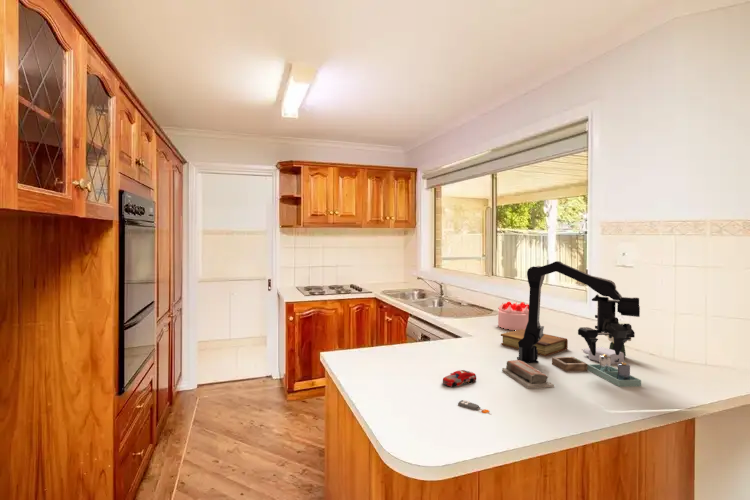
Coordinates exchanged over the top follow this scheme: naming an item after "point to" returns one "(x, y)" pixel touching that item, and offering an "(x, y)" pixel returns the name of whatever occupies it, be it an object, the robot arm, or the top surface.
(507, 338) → the diary
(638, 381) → the trough tray
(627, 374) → the dark cell
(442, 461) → the top surface
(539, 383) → the packaged product
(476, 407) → the key chain
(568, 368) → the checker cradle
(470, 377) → the race car
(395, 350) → the top surface
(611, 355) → the charger
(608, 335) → the mug head figurine
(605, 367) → the steel cell
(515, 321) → the cake
